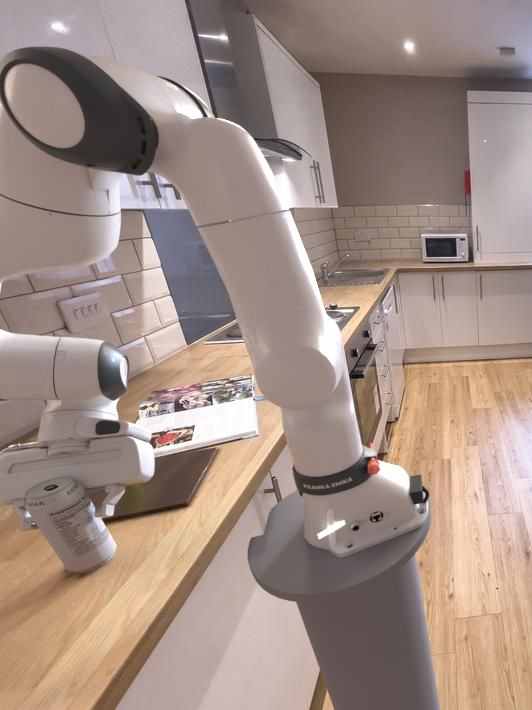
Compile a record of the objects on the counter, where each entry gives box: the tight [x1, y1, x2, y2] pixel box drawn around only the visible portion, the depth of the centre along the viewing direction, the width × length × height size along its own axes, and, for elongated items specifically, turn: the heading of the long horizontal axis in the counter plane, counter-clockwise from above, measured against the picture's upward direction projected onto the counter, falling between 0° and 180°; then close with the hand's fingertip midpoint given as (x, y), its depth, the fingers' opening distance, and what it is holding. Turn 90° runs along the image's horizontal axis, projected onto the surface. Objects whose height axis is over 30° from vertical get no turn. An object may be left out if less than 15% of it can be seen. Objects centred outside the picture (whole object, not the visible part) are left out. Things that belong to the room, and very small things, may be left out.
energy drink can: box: [25, 476, 118, 574], centre depth 63 cm, size 6×6×15 cm
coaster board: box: [86, 446, 219, 524], centre depth 83 cm, size 20×20×1 cm
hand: (67, 523), depth 62 cm, fingers open, 8 cm apart
